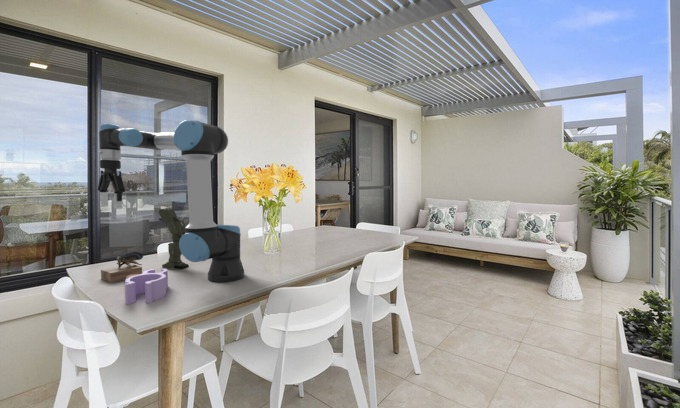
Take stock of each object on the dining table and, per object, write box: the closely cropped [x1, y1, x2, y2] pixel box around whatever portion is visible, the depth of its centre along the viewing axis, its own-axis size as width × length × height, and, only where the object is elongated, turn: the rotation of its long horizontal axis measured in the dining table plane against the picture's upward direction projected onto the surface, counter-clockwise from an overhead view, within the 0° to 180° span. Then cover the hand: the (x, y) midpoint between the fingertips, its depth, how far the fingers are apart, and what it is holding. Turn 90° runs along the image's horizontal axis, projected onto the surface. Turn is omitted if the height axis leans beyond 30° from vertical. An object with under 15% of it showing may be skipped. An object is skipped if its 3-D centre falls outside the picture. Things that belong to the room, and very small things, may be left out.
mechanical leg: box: [158, 207, 189, 270], centre depth 154 cm, size 14×7×30 cm, turn 84°
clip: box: [124, 268, 169, 305], centre depth 117 cm, size 20×12×7 cm, turn 11°
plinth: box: [100, 263, 143, 284], centre depth 137 cm, size 9×12×4 cm
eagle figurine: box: [115, 251, 144, 268], centre depth 139 cm, size 8×7×9 cm
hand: (111, 207), depth 143 cm, fingers open, 13 cm apart
